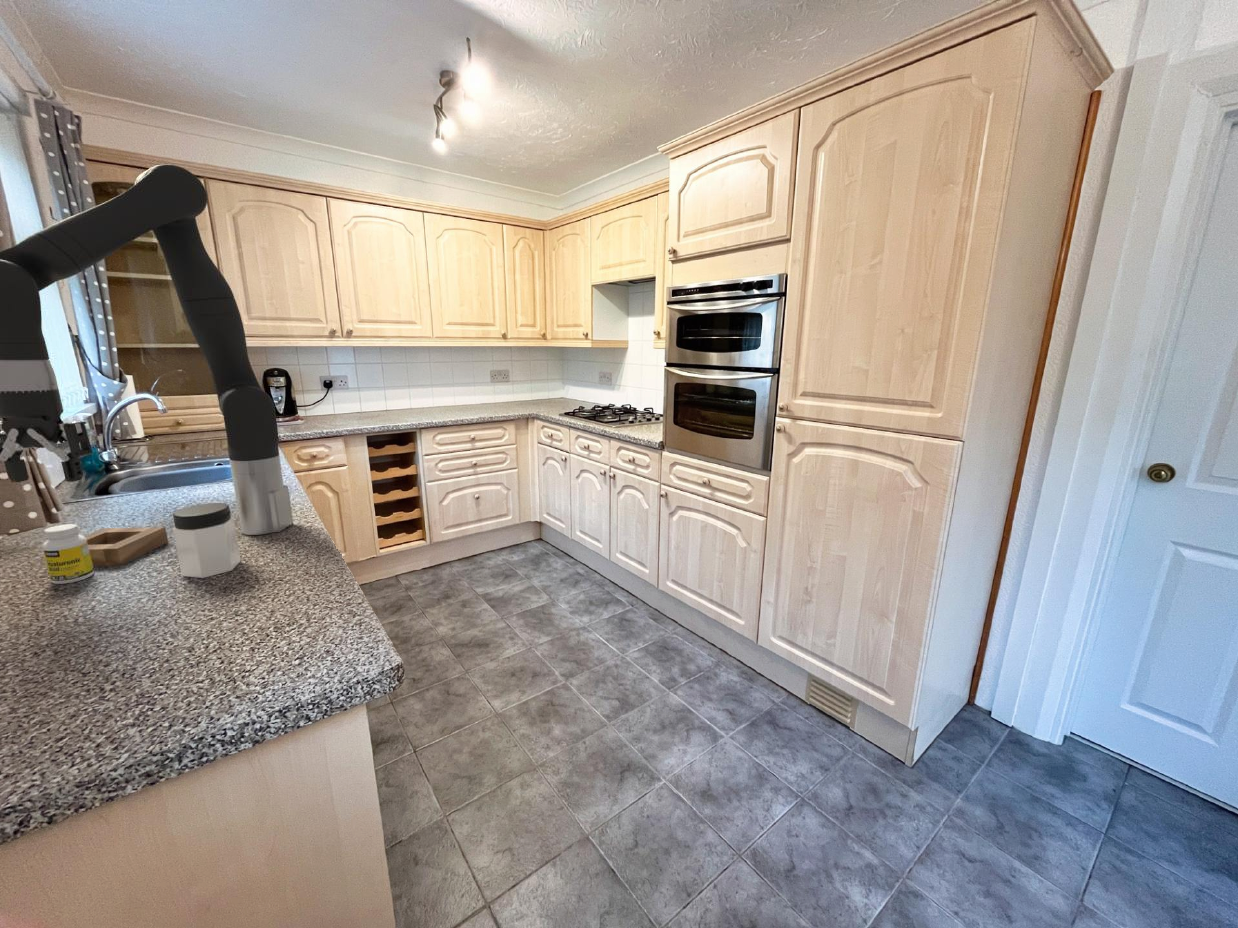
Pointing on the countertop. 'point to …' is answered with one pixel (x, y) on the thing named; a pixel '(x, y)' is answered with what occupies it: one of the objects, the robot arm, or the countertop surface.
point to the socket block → (123, 544)
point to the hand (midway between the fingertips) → (47, 481)
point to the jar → (205, 540)
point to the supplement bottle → (67, 554)
